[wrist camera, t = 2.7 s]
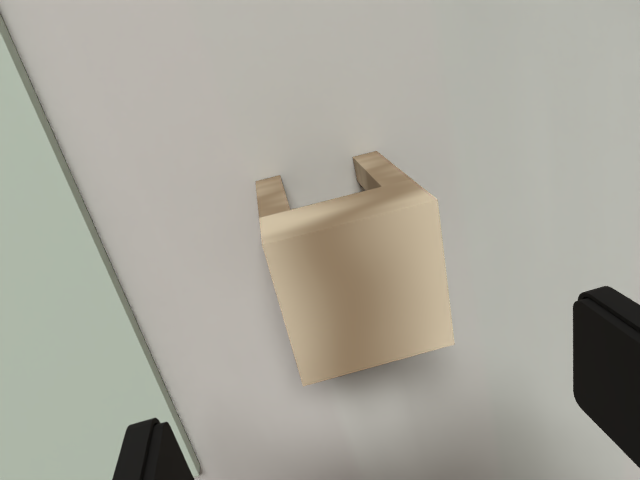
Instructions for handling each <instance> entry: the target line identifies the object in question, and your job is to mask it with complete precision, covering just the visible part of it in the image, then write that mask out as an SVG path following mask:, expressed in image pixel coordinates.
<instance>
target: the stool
mask: <svg viewBox="0 0 640 480" xmlns="http://www.w3.org/2000/svg"><path fill="white" fill-rule="evenodd" d="M353 161H354V166H355V172H356V177H357V181H358V182H359V183H360V184H361V186H362V187H363V188H364V189H365V190H366V191H363V192H359V193H355V194H351V195H347V196H343V197H339V198H335V199H331V200H327V201H324V202H320V203H316V204H312V205H308V206H304V207H300V208H296V209H292V210H290V208H289V204H288V201H287V197H286V194H285V191H284V187H283V184H282V180H281V177H280V175H279V176H275V177H271V178H267V179H263V180H259V181H256V191H257V201H258V210H259V220H260V229H261V239H262V246H263V250H264V253H265V257H266V260H267V264H268V267H269V270H270V274H271V277H272V281H273V284H274V288H275V291H276V295H277V298H278V302H279V305H280V308H281V312H282V315H283V319H284V322H285V326H286V329H287V333H288V336H289V339H290V343H291V346H292V350H293V353H294V357H295V360H296V364H297V367H298V370H299V374H300V377H301V381H302V384H303V386H306V385H310V384H314V383H317V382H321V381H325V380H328V379H332V378H335V377H339V376H343V375H346V374H350V373H353V372H357V371H361V370H364V369H368V368H371V367H375V366H379V365H382V364H386V363H389V362H393V361H397V360H400V359H404V358H408V357H411V356H415V355H418V354H422V353H426V352H429V351H433V350H436V349H440V348H444V347H447V346H451V345H454V344H455V343H454V335H453V326H452V318H451V309H450V301H449V293H448V284H447V276H446V267H445V259H444V250H443V242H442V233H441V225H440V216H439V208H438V200H437V199H436V198H435V197H434V196H432V195H431V194H430V193H429V192H427V191H426V190H425V189H424V188H422V187H421V186H420V185H419V184H417V183H416V182H415V181H414V180H412V179H411V178H410V177H409V176H407V175H406V174H405V173H404V172H402V171H401V170H400V169H399V168H397V167H396V166H395V165H394V164H392V163H391V162H390V161H389V160H387V159H386V158H385V157H384V156H382V155H381V154H380V153H379V152H377V151H375V152H371V153H367V154H363V155H359V156H355V157H353Z"/></svg>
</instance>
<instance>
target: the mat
mask: <svg viewBox="0 0 640 480" xmlns="http://www.w3.org/2000/svg"><path fill="white" fill-rule="evenodd" d="M152 418H157V419H158V420H159V421H160V423H163V422H168V423H169V425H170V426H171V429H172V431H173V433H174V435H175V438H176V440H177V442H178V444H179V446H180V449H181V451H182V453H183V455H184V458H185V460H186V462H187V464H188V467H189V469H190V471H191V473H192V475H193V477H197V476H199V472H200V464H199V462H198V460H197V458H196V455H195V453H194V451H193V449H192V446H191V444H190V442H189V440H188V437H187V435H186V433H185V431H184V428H183V426H182V424H181V421H180V419H179V417H178V415H177V412H176V410H175V408H174V406H173V403H172V401H171V399H170V397H169V394H168V392H167V390H166V388H165V385H164V383H163V381H162V379H161V376H160V374H159V372H158V369H157V367H156V365H155V363H154V360H153V358H152V356H151V354H150V351H149V349H148V347H147V345H146V342H145V340H144V338H143V336H142V333H141V331H140V329H139V327H138V324H137V322H136V320H135V317H134V315H133V313H132V311H131V308H130V306H129V304H128V302H127V299H126V297H125V295H124V293H123V290H122V288H121V286H120V284H119V281H118V279H117V277H116V275H115V272H114V270H113V268H112V265H111V263H110V261H109V259H108V256H107V254H106V252H105V250H104V247H103V245H102V243H101V241H100V238H99V236H98V234H97V232H96V229H95V227H94V225H93V222H92V220H91V218H90V216H89V213H88V211H87V209H86V207H85V204H84V202H83V200H82V198H81V195H80V193H79V191H78V189H77V186H76V184H75V182H74V180H73V177H72V175H71V173H70V170H69V168H68V166H67V164H66V161H65V159H64V157H63V155H62V152H61V150H60V148H59V146H58V143H57V141H56V139H55V137H54V134H53V132H52V130H51V128H50V125H49V123H48V121H47V118H46V116H45V114H44V112H43V109H42V107H41V105H40V103H39V100H38V98H37V96H36V94H35V91H34V89H33V87H32V85H31V82H30V80H29V78H28V76H27V73H26V71H25V69H24V66H23V64H22V62H21V60H20V57H19V55H18V53H17V51H16V48H15V46H14V44H13V42H12V39H11V37H10V35H9V33H8V30H7V28H6V26H5V24H4V21H3V19H2V17H1V14H0V480H112V479H113V475H114V472H115V468H116V464H117V461H118V457H119V454H120V450H121V446H122V443H123V439H124V435H125V432H126V429H127V427H128V426H129V425H131V424H135V423H138V422H141V421H145V420H148V419H152Z"/></svg>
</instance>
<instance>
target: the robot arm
mask: <svg viewBox="0 0 640 480" xmlns="http://www.w3.org/2000/svg"><path fill="white" fill-rule="evenodd" d="M573 392H574V397H575V399H576V402H577V403H578V405H579V406H580V408H581V409H582V410H583V411H584V412H585V413H586V414H587V415H588V416H589V417H590V418H591V419H592V420H593V421H594V422H595V423H596V424H597V425H598V426H599V427H600V428H601V429H602V430H603V431H604V432H605V433H606V434H607V435H608V436H609V437H610V438H611V439H612V440H613V441H614V442H615V443H616V444H617V445H618V446H619V447H620V448H621V449H622V450H623V452H624V453H625V454H626V455H627V456H628V457H629V458H630V459H631V460H632V461H633V462H634V463H635V464H636V465H637V466H638V467H639V468H640V305H639V304H637V303H636V302H634V301H632V300H631V299H629V298H627V297H626V296H624V295H623V294H621V293H619V292H618V291H616V290H614V289H613V288H611V287H608V286H603V287H600V288H597V289H593V290H590V291H586V292H583V293H581V294H580V295H579V297H578V301H576V302H575V303H574V305H573ZM112 480H194V478H193V475H192V473H191V471H190V469H189V467H188V464H187V462H186V460H185V458H184V455H183V453H182V451H181V449H180V446H179V444H178V442H177V440H176V438H175V435H174V433H173V431H172V429H171V426H170V425H169V423H168V422H163V423H160V421H159V420H158V419H157V418H152V419H148V420H145V421H141V422H138V423H135V424H131V425H129V426H128V427H127V429H126V432H125V435H124V439H123V443H122V446H121V450H120V454H119V457H118V461H117V464H116V468H115V472H114V475H113V479H112Z"/></svg>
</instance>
